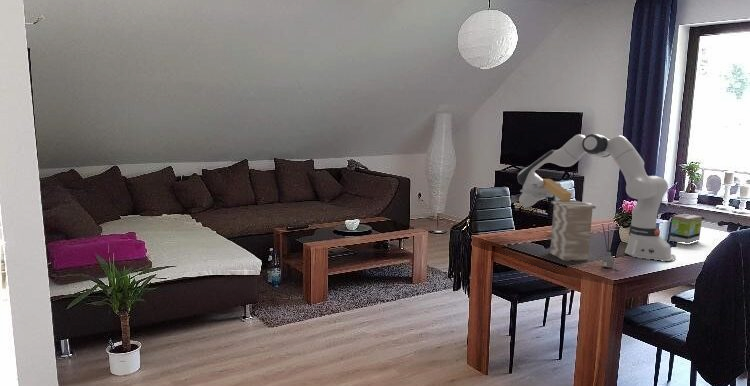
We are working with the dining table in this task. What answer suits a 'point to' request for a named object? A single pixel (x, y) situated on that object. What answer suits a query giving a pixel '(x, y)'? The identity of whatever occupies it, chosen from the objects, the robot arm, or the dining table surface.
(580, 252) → the birch pedestal
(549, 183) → the ochre bar
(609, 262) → the reed diffuser
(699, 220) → the tea box
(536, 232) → the dining table surface
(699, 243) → the dining table surface
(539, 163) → the robot arm
